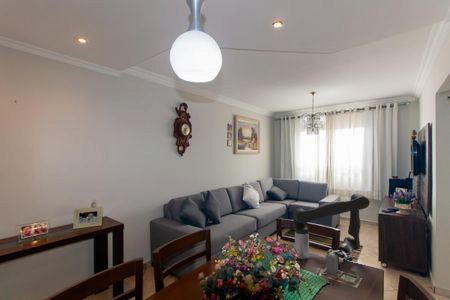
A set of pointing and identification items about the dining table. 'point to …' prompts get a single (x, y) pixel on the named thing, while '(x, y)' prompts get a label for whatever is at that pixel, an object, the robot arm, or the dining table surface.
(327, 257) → the plug
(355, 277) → the dock
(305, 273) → the dining table surface
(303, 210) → the robot arm
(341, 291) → the dining table surface
